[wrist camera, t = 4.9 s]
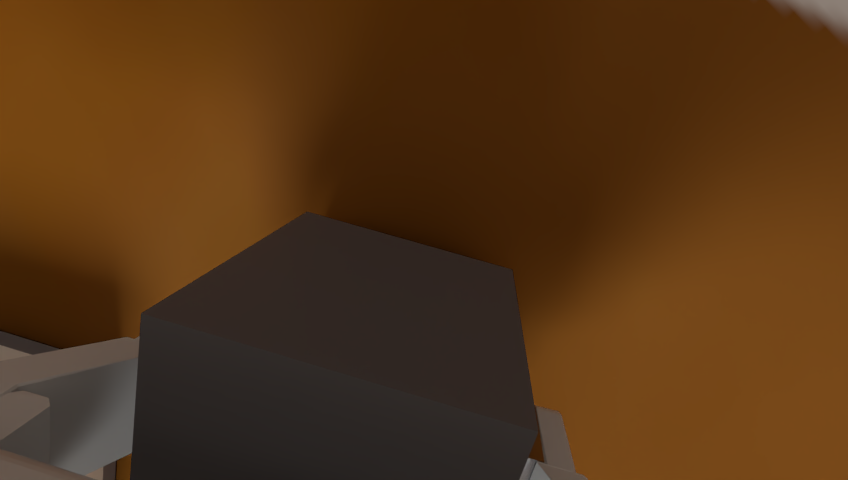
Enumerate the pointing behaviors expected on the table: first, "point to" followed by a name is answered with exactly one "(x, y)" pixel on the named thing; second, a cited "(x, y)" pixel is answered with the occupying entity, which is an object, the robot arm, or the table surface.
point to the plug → (335, 365)
